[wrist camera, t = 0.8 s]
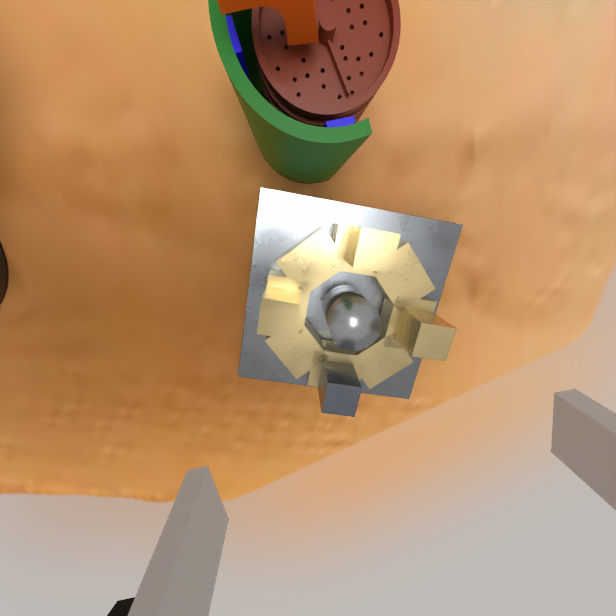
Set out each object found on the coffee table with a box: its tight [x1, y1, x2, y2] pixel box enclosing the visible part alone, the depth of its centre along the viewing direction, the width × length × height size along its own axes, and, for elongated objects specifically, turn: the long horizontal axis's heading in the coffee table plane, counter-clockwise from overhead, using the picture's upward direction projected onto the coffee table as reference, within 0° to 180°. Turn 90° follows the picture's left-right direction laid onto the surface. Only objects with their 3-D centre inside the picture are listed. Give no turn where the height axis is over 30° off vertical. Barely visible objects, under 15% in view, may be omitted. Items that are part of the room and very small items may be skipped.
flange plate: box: [238, 187, 462, 399], centre depth 29 cm, size 20×20×8 cm
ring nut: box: [257, 223, 456, 417], centre depth 27 cm, size 16×16×7 cm
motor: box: [208, 0, 401, 183], centre depth 18 cm, size 10×9×20 cm
